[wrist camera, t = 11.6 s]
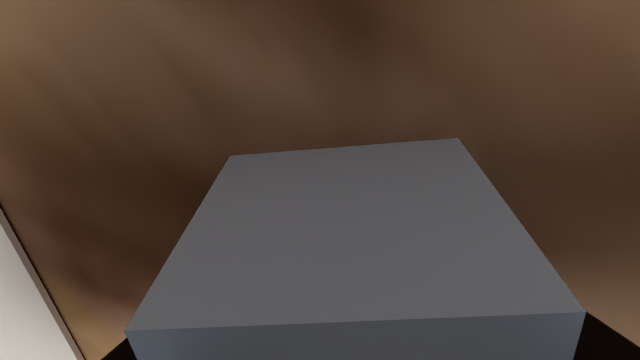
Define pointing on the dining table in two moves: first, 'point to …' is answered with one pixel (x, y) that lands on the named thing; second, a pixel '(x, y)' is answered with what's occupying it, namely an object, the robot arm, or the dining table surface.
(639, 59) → the dining table surface
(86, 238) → the dining table surface
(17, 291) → the letter
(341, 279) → the cube
